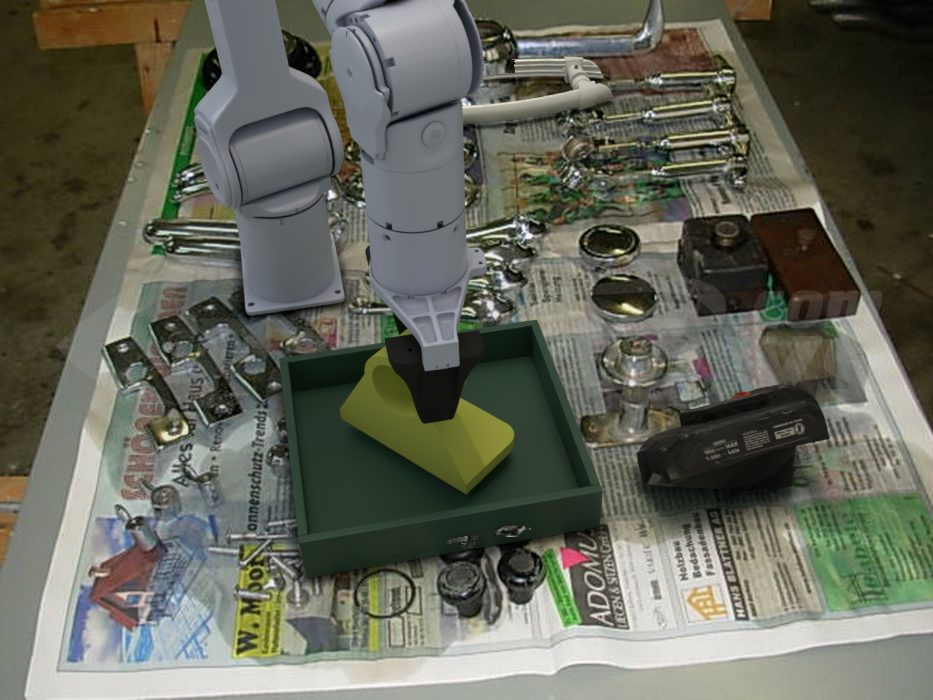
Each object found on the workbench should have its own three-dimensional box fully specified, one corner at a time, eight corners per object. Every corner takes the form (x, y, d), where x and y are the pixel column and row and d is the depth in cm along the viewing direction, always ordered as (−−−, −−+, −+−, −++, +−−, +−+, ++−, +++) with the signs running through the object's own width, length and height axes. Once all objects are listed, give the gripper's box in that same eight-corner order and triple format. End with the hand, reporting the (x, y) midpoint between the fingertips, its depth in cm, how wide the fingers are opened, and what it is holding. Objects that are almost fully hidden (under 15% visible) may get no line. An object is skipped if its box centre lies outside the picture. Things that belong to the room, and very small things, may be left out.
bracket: (521, 454, 77) (522, 346, 70) (466, 507, 73) (462, 399, 67) (399, 385, 82) (389, 279, 75) (343, 431, 79) (327, 324, 72)
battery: (810, 479, 77) (776, 384, 78) (859, 469, 69) (820, 363, 70) (649, 529, 76) (617, 431, 77) (680, 525, 68) (644, 416, 69)
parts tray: (285, 393, 83) (278, 357, 80) (536, 354, 85) (537, 318, 83) (306, 578, 70) (299, 543, 68) (600, 527, 72) (603, 491, 70)
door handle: (362, 92, 116) (595, 68, 119) (370, 141, 109) (619, 114, 111) (360, 69, 114) (596, 45, 117) (368, 117, 107) (620, 90, 110)
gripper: (512, 270, 59) (511, 446, 68) (460, 130, 69) (465, 299, 78) (379, 289, 58) (397, 465, 67) (347, 144, 68) (366, 313, 77)
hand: (426, 376), depth 73 cm, fingers open, 7 cm apart
